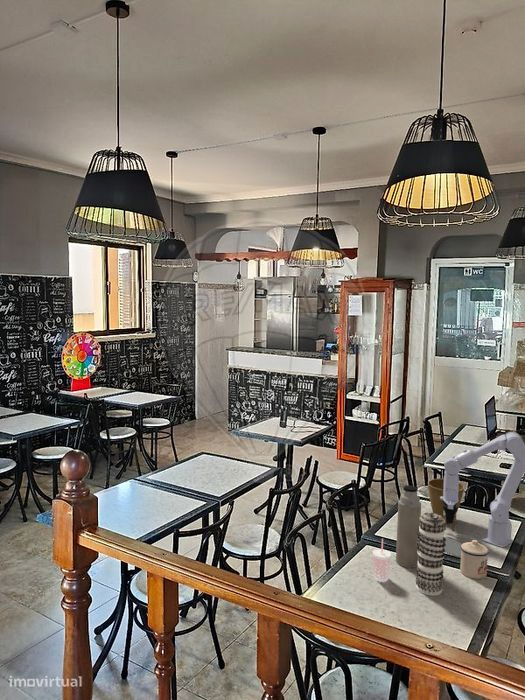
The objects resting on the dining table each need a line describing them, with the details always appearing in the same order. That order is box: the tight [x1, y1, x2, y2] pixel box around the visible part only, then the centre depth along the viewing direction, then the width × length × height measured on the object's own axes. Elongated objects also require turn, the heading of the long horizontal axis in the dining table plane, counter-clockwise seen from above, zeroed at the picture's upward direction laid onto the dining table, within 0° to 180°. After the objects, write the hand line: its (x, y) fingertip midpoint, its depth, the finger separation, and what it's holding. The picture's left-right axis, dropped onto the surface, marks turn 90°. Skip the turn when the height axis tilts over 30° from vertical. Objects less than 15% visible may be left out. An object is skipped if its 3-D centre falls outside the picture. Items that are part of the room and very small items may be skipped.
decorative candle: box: [415, 511, 446, 596], centre depth 175 cm, size 9×9×25 cm
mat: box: [443, 536, 464, 558], centre depth 207 cm, size 12×12×1 cm
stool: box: [443, 511, 457, 533], centre depth 218 cm, size 5×5×6 cm
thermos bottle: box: [395, 485, 422, 569], centre depth 193 cm, size 8×8×28 cm
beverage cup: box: [372, 538, 392, 583], centre depth 181 cm, size 6×6×14 cm
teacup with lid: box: [459, 539, 490, 580], centre depth 188 cm, size 12×9×12 cm
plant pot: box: [427, 478, 465, 524], centre depth 232 cm, size 15×15×16 cm
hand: (449, 520), depth 218 cm, fingers closed on stool, 5 cm apart
